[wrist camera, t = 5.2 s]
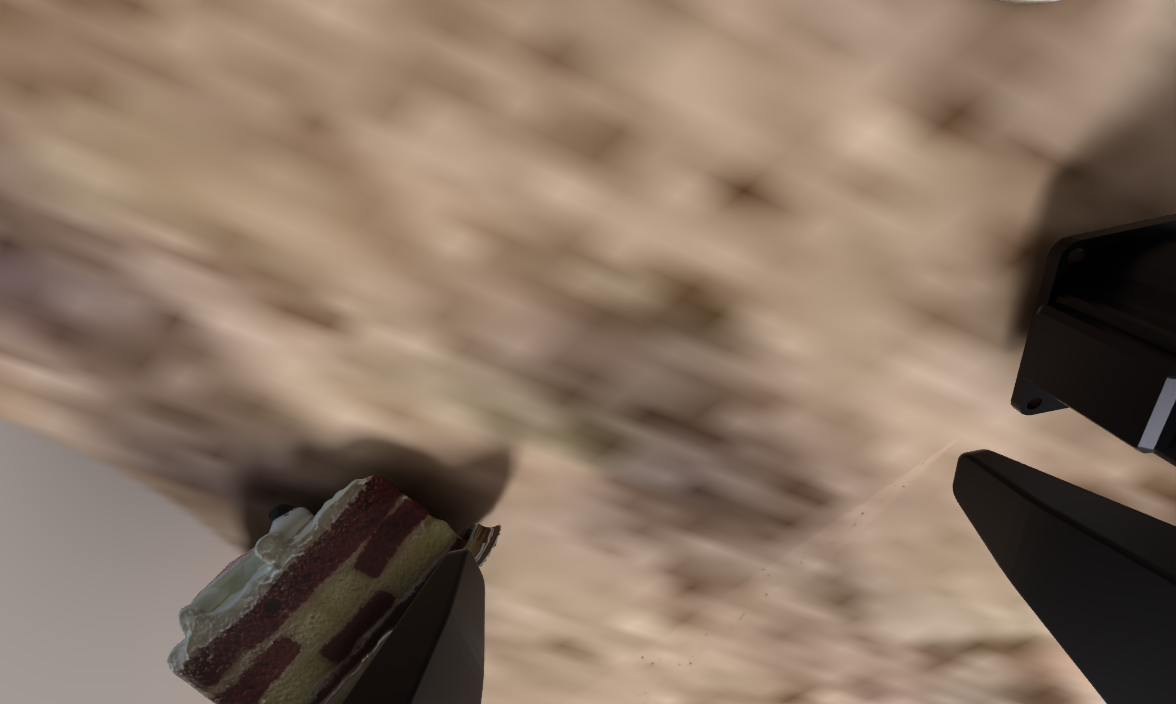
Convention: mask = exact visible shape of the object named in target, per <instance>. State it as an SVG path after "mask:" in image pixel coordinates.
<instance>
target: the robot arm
mask: <svg viewBox="0 0 1176 704" xmlns="http://www.w3.org/2000/svg"><path fill="white" fill-rule="evenodd" d="M1071 252H1072V253H1071ZM1070 253H1071V255H1070ZM1069 255H1070V256H1069ZM1068 256H1069V257H1068ZM1011 405H1012V406H1013V408H1015V409H1016V410H1018V411H1019V412H1020V413H1022V414H1024V415H1034V414H1039V413H1044V412H1049V411H1054V410H1059V409H1064V408H1069V407H1070V408H1071V409H1073V410H1075V411H1076V412H1078V413H1079V414H1081V415H1082V416H1084V417H1086V418H1087V419H1089V420H1090V421H1092V422H1093V423H1095V424H1097V425H1098V426H1100V427H1101V428H1103V429H1104V430H1106V431H1108V432H1109V433H1111V434H1112V435H1114V436H1115V437H1117V438H1119V439H1120V440H1122V441H1123V442H1125V443H1126V444H1128V445H1130V446H1131V447H1133V448H1134V449H1136V450H1138V451H1140V452H1142V453H1152V452H1153V453H1154V454H1156V455H1158V456H1159V457H1161V458H1162V459H1164V460H1166V461H1167V462H1169V463H1170V464H1172V465H1174V466H1175V467H1176V214H1173V215H1168V216H1164V217H1159V218H1154V219H1149V220H1145V221H1140V222H1135V223H1130V224H1125V225H1121V226H1116V227H1111V228H1106V229H1101V230H1097V231H1092V232H1087V233H1082V234H1077V235H1073V236H1068V237H1066V238H1063V239H1061V240H1060V241H1058V242H1057V243H1056V244H1055V245H1054V246H1053V247H1052V249H1051V250H1050V252H1049V255H1048V258H1047V262H1046V266H1045V270H1044V274H1043V278H1042V281H1041V285H1040V289H1039V293H1038V297H1037V301H1036V305H1035V309H1034V313H1033V317H1032V320H1031V324H1030V328H1029V332H1028V336H1027V340H1026V344H1025V348H1024V352H1023V356H1022V359H1021V363H1020V367H1019V371H1018V375H1017V379H1016V383H1015V387H1014V391H1013V395H1012V398H1011ZM953 493H954V496H955V498H956V500H957V502H958V503H959V505H960V506H961V508H962V509H963V511H964V512H965V514H966V516H967V517H968V519H969V520H970V522H971V523H972V525H973V526H974V528H975V529H976V531H977V532H978V534H979V536H980V537H981V539H982V540H983V542H984V543H985V545H986V546H987V548H988V549H989V551H990V552H991V554H992V556H993V557H994V559H995V560H996V562H997V563H998V565H999V566H1000V568H1001V569H1002V571H1003V572H1004V573H1005V575H1006V576H1007V578H1008V579H1009V581H1010V582H1011V583H1012V584H1013V586H1014V587H1015V588H1016V590H1017V591H1018V592H1019V594H1020V595H1021V596H1022V597H1023V599H1024V600H1025V601H1026V602H1027V604H1028V605H1029V606H1030V607H1031V609H1032V610H1033V611H1034V613H1035V614H1036V615H1037V616H1038V618H1039V619H1040V620H1041V621H1042V623H1043V624H1044V625H1045V626H1046V628H1047V629H1048V630H1049V631H1050V633H1051V634H1052V635H1053V636H1054V638H1055V639H1056V640H1057V642H1058V643H1059V644H1060V645H1061V647H1062V648H1063V649H1064V650H1065V652H1066V653H1067V654H1068V655H1069V657H1070V658H1071V659H1072V660H1073V662H1074V663H1075V664H1076V665H1077V667H1078V668H1079V669H1080V670H1081V672H1082V673H1083V674H1084V676H1085V677H1086V678H1087V679H1088V681H1089V682H1090V683H1091V684H1092V686H1093V687H1094V688H1095V689H1096V691H1097V692H1098V693H1099V694H1100V696H1101V697H1102V698H1103V699H1104V701H1105V702H1106V703H1107V704H1176V526H1174V525H1171V524H1169V523H1166V522H1164V521H1161V520H1159V519H1156V518H1154V517H1152V516H1149V515H1147V514H1144V513H1142V512H1139V511H1137V510H1135V509H1132V508H1130V507H1127V506H1125V505H1122V504H1120V503H1117V502H1115V501H1113V500H1110V499H1108V498H1105V497H1103V496H1100V495H1098V494H1095V493H1093V492H1091V491H1088V490H1086V489H1083V488H1081V487H1078V486H1076V485H1074V484H1071V483H1069V482H1066V481H1064V480H1061V479H1059V478H1056V477H1054V476H1052V475H1049V474H1047V473H1044V472H1042V471H1039V470H1037V469H1035V468H1032V467H1030V466H1027V465H1025V464H1022V463H1020V462H1017V461H1015V460H1013V459H1010V458H1008V457H1005V456H1003V455H1000V454H998V453H995V452H993V451H990V450H985V449H982V450H976V451H971V452H966V453H963V454H961V455H960V457H959V458H958V462H957V467H956V472H955V477H954V481H953ZM484 631H485V584H484V579H483V575H482V573H481V571H480V569H479V567H478V564H477V562H476V560H475V558H474V556H473V553H472V552H471V550H469V549H466V548H465V549H460V550H455V551H450V552H448V553H447V554H446V555H445V556H444V557H443V559H442V560H441V561H440V563H439V564H438V566H437V567H436V569H435V570H434V571H433V573H432V574H431V576H430V577H429V579H428V580H427V581H426V583H425V584H424V586H423V587H422V589H421V590H420V591H419V593H418V594H417V596H416V597H415V599H414V600H413V601H412V603H411V604H410V606H409V607H408V609H407V610H406V612H405V613H404V614H403V616H402V617H401V619H400V620H399V622H398V623H397V624H396V626H395V627H394V629H393V630H392V632H391V633H390V634H389V636H388V637H387V639H386V640H385V642H384V643H383V644H382V646H381V647H380V649H379V650H378V652H377V653H376V654H375V656H374V657H373V659H372V660H371V662H370V663H369V665H368V666H367V667H366V669H365V670H364V672H363V673H362V675H361V676H360V677H359V679H358V680H357V682H356V683H355V685H354V686H353V687H352V689H351V690H350V692H349V693H348V695H347V696H346V697H345V699H344V700H343V702H342V703H341V704H481V698H482V690H483V678H484Z"/></svg>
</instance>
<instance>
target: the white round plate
mask: <svg viewBox="0 0 1176 704" xmlns="http://www.w3.org/2000/svg"><path fill="white" fill-rule="evenodd" d="M998 1H1003V2H1008V3H1028V4H1038V3H1045V2H1052V1H1059V0H998Z"/></svg>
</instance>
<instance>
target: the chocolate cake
mask: <svg viewBox="0 0 1176 704" xmlns="http://www.w3.org/2000/svg"><path fill="white" fill-rule="evenodd" d="M269 518H270V520H271V521H272V526H271V529H270V532H269V533H268V534H266V535H265V536H263V537H262V538H260V539H259V540H258V541H257V543H256V545H255V547H254V548H252V549H251V550H250V551H248V552H247V553H245V554H243V555H241V556H240V557H238V558H237V559H235V560H234V561H232V562H231V563H229V564H228V566H226V568H225V569H224V570H223V571H222V572H221V573H220V574H219V575H218V576H217V577H216V578H215V579H214V580H213V581H211V582H210V583H209V584H208V585H207V586H206V587H205V588H204V589H203V590H202V591H201V592H200V593H199V594H198V595H197V596H196V597H195V598H194V600H193V601H192V603H191V604H189V605H187V606H185V607H184V608H182V609H181V610H180V612H179V614H178V621H179V625H180V627H181V629H182V631H183V632H184V634H185V639H184V640H183V641H181V642H180V643H179V644H178V645H176V646H175V647H174V649H173V650H172V651H171V653H170V655H169V656H168V659H167V664H168V665H169V667H170V669H171V671H172V672H173V673H174V674H175V675H177V676H178V677H179V678H181V679H182V680H184V681H185V682H187V683H188V684H190V685H191V686H192V687H193V688H195V689H196V690H197V691H199V692H200V693H201V694H202V695H203V696H205V697H206V698H208V699H209V700H211V701H212V702H213V703H215V704H341V703H342V702H343V700H344V699H345V697H346V696H347V695H348V693H349V692H350V690H351V689H352V687H353V686H354V685H355V683H356V682H357V680H358V679H359V677H360V676H361V675H362V673H363V672H364V670H365V669H366V667H367V666H368V665H369V663H370V662H371V660H372V659H373V657H374V656H375V654H376V653H377V652H378V650H379V649H380V647H381V646H382V644H383V643H384V642H385V640H386V639H387V637H388V636H389V634H390V633H391V632H392V630H393V629H394V627H395V626H396V624H397V623H398V622H399V620H400V619H401V617H402V616H403V614H404V613H405V612H406V610H407V609H408V607H409V606H410V604H411V603H412V601H413V600H414V599H415V597H416V596H417V594H418V593H419V591H420V590H421V589H422V587H423V586H424V584H425V583H426V581H427V580H428V579H429V577H430V576H431V574H432V573H433V571H434V570H435V569H436V567H437V566H438V564H439V563H440V561H441V560H442V559H443V557H444V556H445V555H446V554H447V553H448V552H450V551H455V550H460V549H465V548H466V549H469V550H471V552H472V553H473V556H474V558H475V560H476V562H477V564H478V567H481V566H482V564H483V563H484V562H485V561H486V558H487V557H488V556H489V554H490V552H491V550H492V548H493V547H495V546H496V543H497V537H498V536H499V535H500V533H499V532H500V530H501V529H500V528H501V525H497V526H495V527H484V526H482V525H480V524H472V525H470V526H469V527H467V528H465V529H464V531H463V532H462V534H461V535H460V536H457V534H456V533H455V532H454V531H453V530H452V529H451V528H450V526H449V525H448V524H447V523H446V522H445V521H443V520H439V519H436V518H434V517H432V516H431V515H430V514H429V511H428V510H427V509H426V508H425V507H424V506H422V505H421V504H419V503H418V502H415V501H412V500H411V499H410V498H409V497H408V496H406V495H405V494H403V493H401V492H399V491H398V490H397V489H396V488H395V487H394V486H393V485H392V484H391V483H389V482H387V481H386V480H384V479H383V478H381V477H379V476H376V475H372V476H370V477H367V478H364V479H355V480H353V481H352V482H351V483H350V484H349V485H348V486H347V487H346V488H344V489H343V490H339V491H338V492H337V493H336V494H335V496H334V497H333V498H332V499H330V500H328V501H326V502H325V503H324V505H323V507H322V508H321V509H320V510H319V511H318V513H317V514H316V515H313V514H311V513H310V512H309V510H307V509H306V508H304V507H298V508H296V507H293V506H291V505H288V504H280V505H278V506H276V507H274V508H273V509H271V511H270V512H269Z"/></svg>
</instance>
